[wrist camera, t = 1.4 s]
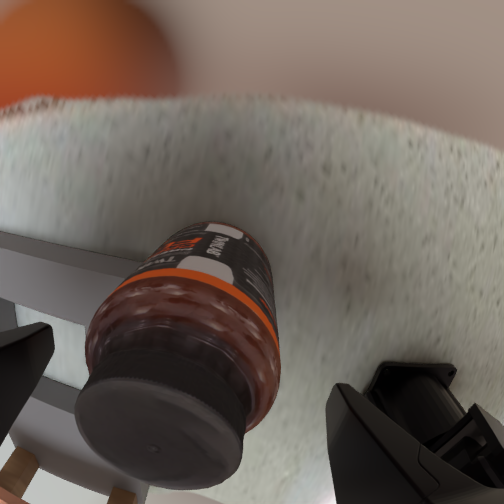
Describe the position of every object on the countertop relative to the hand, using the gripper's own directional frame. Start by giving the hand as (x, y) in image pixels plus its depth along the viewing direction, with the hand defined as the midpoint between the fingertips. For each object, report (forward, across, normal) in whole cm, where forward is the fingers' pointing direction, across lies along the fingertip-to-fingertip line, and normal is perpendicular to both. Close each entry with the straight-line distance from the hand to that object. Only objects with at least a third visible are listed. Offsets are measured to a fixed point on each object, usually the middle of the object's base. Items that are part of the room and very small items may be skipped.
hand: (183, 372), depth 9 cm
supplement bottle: (+8, 0, 0) cm, 9 cm away
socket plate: (+8, +10, +11) cm, 17 cm away
